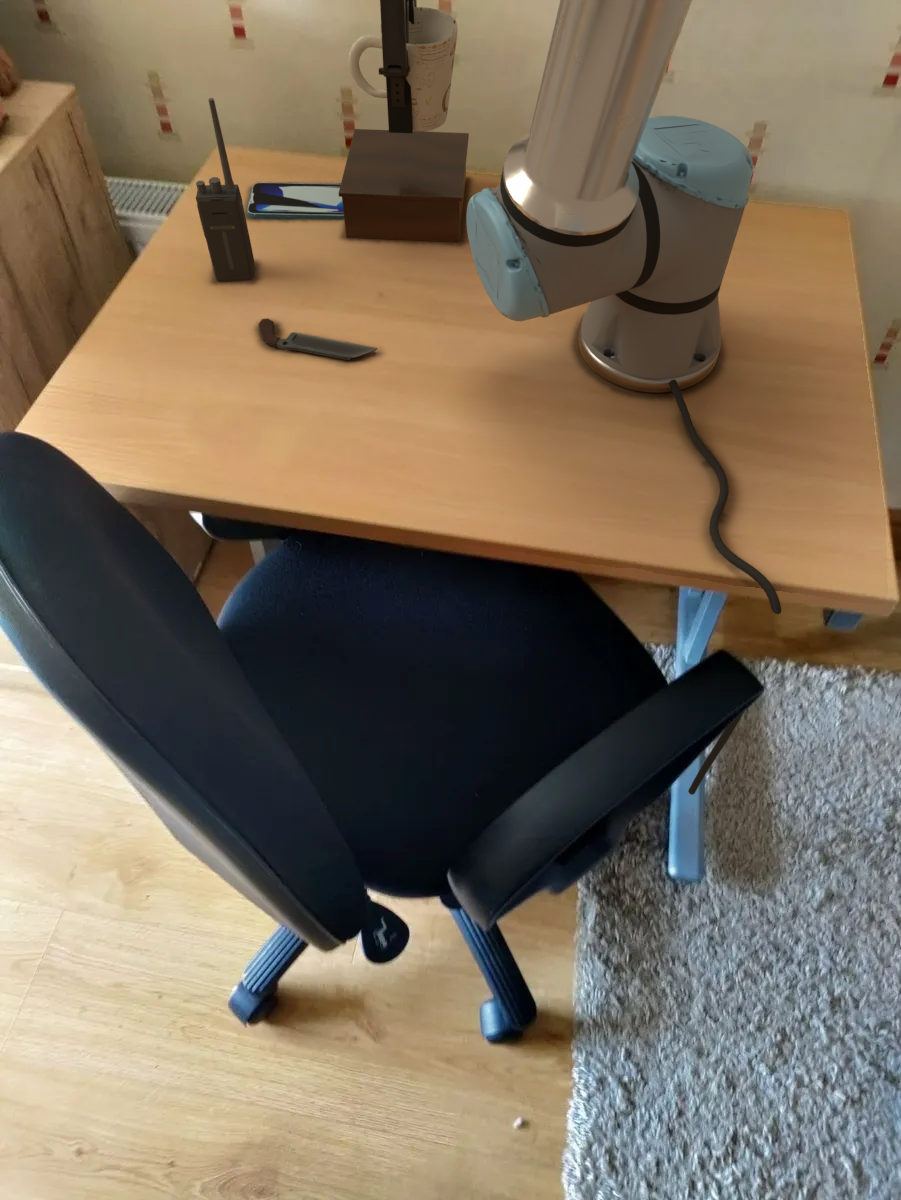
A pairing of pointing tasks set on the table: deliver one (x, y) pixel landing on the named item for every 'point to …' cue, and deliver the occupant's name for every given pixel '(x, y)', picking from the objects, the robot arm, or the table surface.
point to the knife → (312, 343)
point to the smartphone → (295, 201)
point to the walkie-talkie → (225, 219)
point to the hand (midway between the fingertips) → (403, 115)
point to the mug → (419, 65)
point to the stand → (404, 185)
